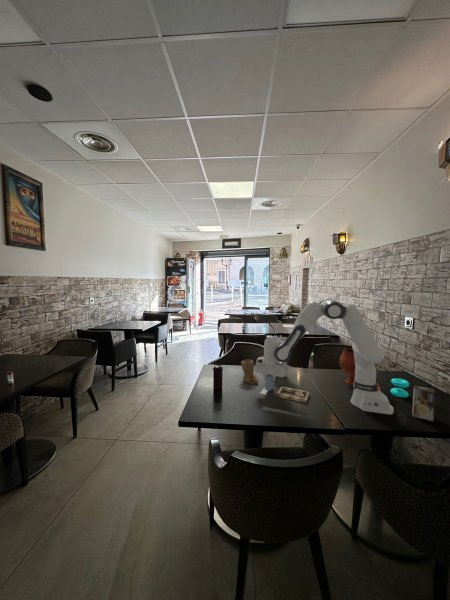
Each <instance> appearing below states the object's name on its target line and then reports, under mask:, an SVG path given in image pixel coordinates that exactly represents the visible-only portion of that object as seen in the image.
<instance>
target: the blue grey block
mask: <svg viewBox="0 0 450 600" xmlns="http://www.w3.org/2000/svg"><path fill="white" fill-rule="evenodd" d="M272 378H273V379H274V376H273V375H268V374H266V378H264V381H265V383H264V384H265V386H264V388H265V390H268V392H269V391H270V392H271V391H272V390H273V388H274V382H272Z"/></svg>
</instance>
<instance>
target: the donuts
mask: <svg viewBox="0 0 450 600" xmlns="http://www.w3.org/2000/svg"><path fill="white" fill-rule="evenodd" d="M390 383H391V384H392V385H394V386H395V387H393V388H391V389H390V391H389V393H390V394H392V396H394V397H398V398H402V399H405V398H408V397H409V393H408V391H406V390H405V389H404V388H408V387H409V386H410V382H409V381H408V380H406V379H403V378H391V380H390Z"/></svg>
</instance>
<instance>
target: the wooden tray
mask: <svg viewBox="0 0 450 600" xmlns="http://www.w3.org/2000/svg"><path fill="white" fill-rule="evenodd" d="M283 391H284V392H288V393H292V394H295V392H302V393H303V395H304V396H305V398H300V397H296V396H295V395H290V394H286V393H282V392H283ZM276 397H277V398H282V399H286V400H291V401H295V402H299V403H304V404H307V403H308V400H309V397H310V392H309V391H307V390H302V389H301V390H300V389H295V388H290V387H286V386H281V387H280V388H278V390H277V393H276Z"/></svg>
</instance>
